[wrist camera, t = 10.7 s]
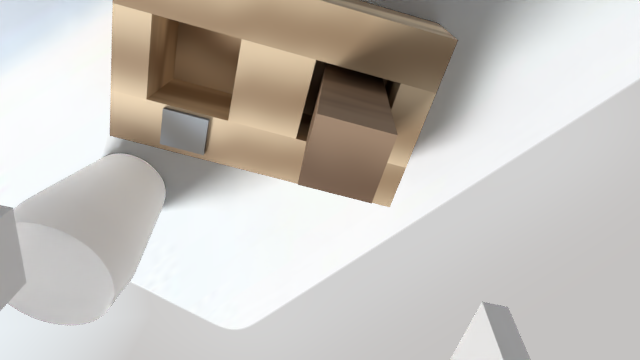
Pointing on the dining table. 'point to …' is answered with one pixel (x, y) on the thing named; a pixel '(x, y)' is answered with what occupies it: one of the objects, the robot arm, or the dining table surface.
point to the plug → (348, 135)
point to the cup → (86, 238)
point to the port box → (264, 76)
